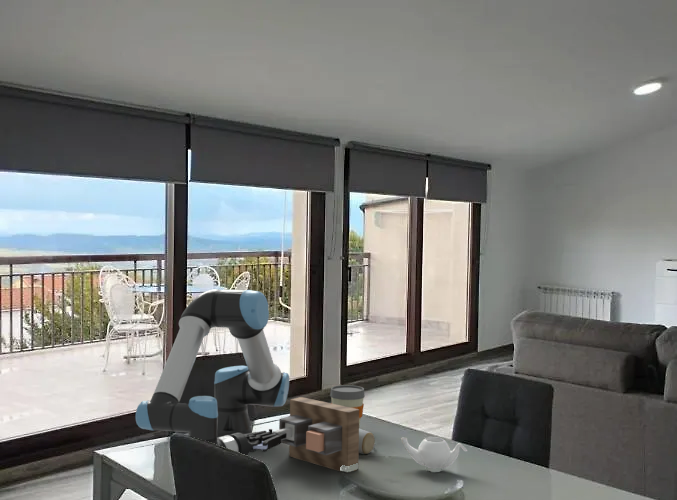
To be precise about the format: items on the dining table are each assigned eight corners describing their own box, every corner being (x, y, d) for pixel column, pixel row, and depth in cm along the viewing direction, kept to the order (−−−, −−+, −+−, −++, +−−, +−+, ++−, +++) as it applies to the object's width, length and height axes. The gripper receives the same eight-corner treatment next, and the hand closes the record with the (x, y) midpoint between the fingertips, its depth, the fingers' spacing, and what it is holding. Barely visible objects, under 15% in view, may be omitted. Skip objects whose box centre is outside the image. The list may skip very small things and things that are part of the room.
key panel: (273, 461, 212) (274, 403, 212) (300, 452, 221) (301, 397, 221) (332, 479, 196) (333, 416, 196) (358, 469, 205) (359, 409, 205)
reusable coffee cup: (332, 424, 257) (332, 384, 257) (365, 426, 255) (366, 385, 255) (327, 433, 245) (327, 391, 244) (362, 435, 243) (362, 392, 243)
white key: (284, 438, 210) (285, 422, 210) (293, 435, 214) (294, 419, 214) (296, 441, 207) (296, 425, 207) (305, 438, 210) (305, 422, 210)
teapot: (468, 477, 200) (468, 446, 200) (399, 473, 203) (399, 441, 203) (467, 467, 209) (467, 437, 209) (401, 463, 212) (401, 433, 212)
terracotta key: (306, 448, 200) (306, 431, 200) (315, 445, 203) (315, 429, 203) (318, 452, 197) (319, 434, 197) (327, 449, 200) (328, 432, 200)
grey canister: (363, 457, 218) (364, 432, 218) (342, 452, 222) (343, 428, 222) (381, 450, 226) (382, 426, 226) (361, 445, 231) (361, 422, 231)
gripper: (215, 457, 195) (275, 440, 213) (246, 467, 186) (305, 448, 204) (215, 430, 195) (275, 416, 213) (246, 439, 186) (306, 423, 204)
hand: (290, 432), depth 209 cm, fingers closed
